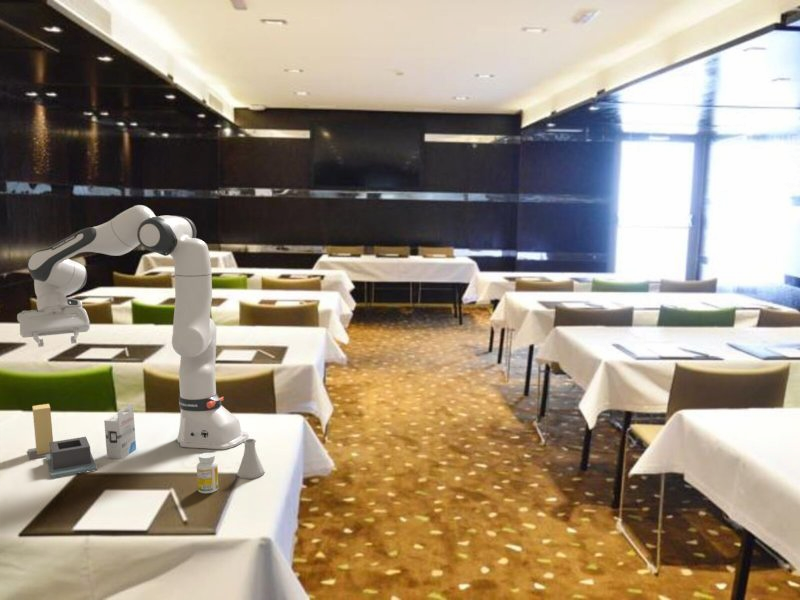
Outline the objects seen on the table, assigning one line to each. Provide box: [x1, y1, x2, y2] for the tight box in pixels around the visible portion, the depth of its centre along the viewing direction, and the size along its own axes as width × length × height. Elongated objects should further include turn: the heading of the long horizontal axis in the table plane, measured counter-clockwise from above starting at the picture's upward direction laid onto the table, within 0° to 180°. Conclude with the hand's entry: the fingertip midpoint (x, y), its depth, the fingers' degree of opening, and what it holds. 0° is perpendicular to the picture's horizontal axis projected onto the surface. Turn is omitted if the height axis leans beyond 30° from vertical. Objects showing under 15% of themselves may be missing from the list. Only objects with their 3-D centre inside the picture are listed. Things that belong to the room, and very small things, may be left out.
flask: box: [236, 438, 266, 480], centre depth 210 cm, size 7×7×10 cm
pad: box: [27, 447, 50, 460], centre depth 230 cm, size 9×9×1 cm
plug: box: [32, 403, 54, 455], centre depth 228 cm, size 5×5×14 cm
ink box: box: [104, 403, 137, 460], centre depth 227 cm, size 8×5×15 cm, turn 168°
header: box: [49, 436, 92, 470], centre depth 219 cm, size 10×10×5 cm
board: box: [45, 453, 98, 479], centre depth 220 cm, size 18×12×1 cm, turn 29°
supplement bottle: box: [196, 452, 219, 494], centre depth 199 cm, size 5×5×10 cm
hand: (57, 344), depth 235 cm, fingers open, 8 cm apart
